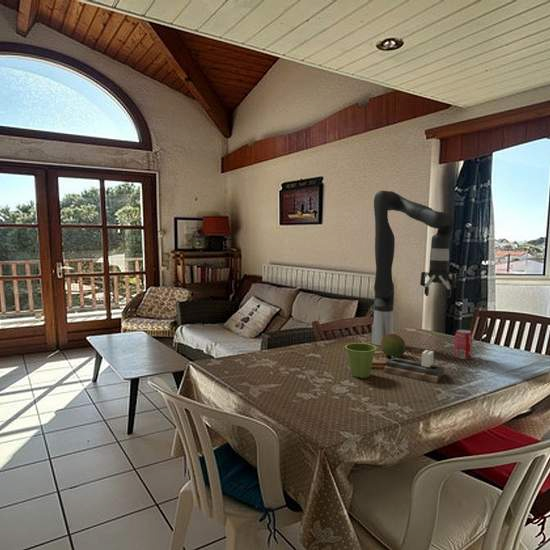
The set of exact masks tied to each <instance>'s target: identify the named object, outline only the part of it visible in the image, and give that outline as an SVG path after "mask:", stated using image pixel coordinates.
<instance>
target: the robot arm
mask: <svg viewBox="0 0 550 550" xmlns="http://www.w3.org/2000/svg"><path fill="white" fill-rule="evenodd" d="M373 210H374V223H375V224H374V225H375V226H374V227H375V229H374V230H375V231H374V232H375V236H374V256H375V257H374V259H375V276H374V284H373V290H374V300H373V301H374V302H373V324H372V325H371V345H374V346H379V347H380V343H381V340H382V338H383V337H384V336H385V335H387V334H394V333H393V326H394V304H395V301H394V300H395V284H394V282H393V273H392V271H393V270H392V269H393V263H394V258H395V257H394V256H395V243H396V242H395V238H396V237H395V235H394V232H393V229H392V227H391V226H390V222H389V218H388V217H389V215H388V212H389V211H396V212H401V213H402V214H403V213H404V214H406V216H408V217H409V218H410V219H413V220H415V221H418V222H420V223H423V224H424V225H427V226H428V227H429V228H433V229H437V231H436V234H434V235H432V237H431V243H430V245H431V246H430V252H429V269H428V271H427V272H426V271H421V274H420V281H419V283H420V286H422V287H424V289H423V290H424V292H423V293H424V295H425V296H426V297H428V296H430V287H429V286H430V285H431V284H432V283H435V284H437V283H438V284H443V285H444V286H445V288H446V293H445V294H446V295H445V298H446V299H449V298H451V297H452V289H455V288H457V274H456V273H449V268H450V267H449V265H450V264H449V263H450V237H451V236H452V233H453V230H454V229H453V228H454V224H455V220H454V219H455V218H454V216H453V214H452V213H450V212H447V211H445V212H444V211H437V210H433V208H432V207H430V206H427V205H424V204H422V203H418V202H416V201H415V202H414V201H412V200H409V199H407V198H405V197H404V196H402V195H401V194H398V193H397V192H395V191H391V190H379V191H377V192H376V194H375V195H374V197H373ZM427 276H428V277H429V279H428V281H426V278H427ZM448 278H450V280H451V283H450V282H449V280H448Z"/></svg>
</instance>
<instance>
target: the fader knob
mask: <svg viewBox="0 0 550 550" xmlns="http://www.w3.org/2000/svg"><path fill="white" fill-rule="evenodd" d="M434 355H435V353H434V350H430V349H424V351H423V352H421V366H424V367H427V368H431V365H432V364H433V365H434Z"/></svg>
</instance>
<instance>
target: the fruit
mask: <svg viewBox="0 0 550 550" xmlns="http://www.w3.org/2000/svg"><path fill="white" fill-rule="evenodd" d="M379 347H380V349H381V350H380V351H382V353H383V354H384V355H385V356H387V355H389V356H393V357H398V358H401V357H402V356H403V355H404V354H405V352H406V349H407V348H406V343H405V340H404V338H403V337H401V336H400V335H398V334H396V333H392V334H387V335H385V336H384V337H383V338H382V340H381V343H380V346H379ZM389 356H388V357H389Z"/></svg>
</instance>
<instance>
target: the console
mask: <svg viewBox="0 0 550 550" xmlns="http://www.w3.org/2000/svg"><path fill="white" fill-rule="evenodd" d="M383 373H387V374H391V375H396V376H401V377H406V378H409V379H415V380H420V381H425V382H430V383H432V384H433V383H435V384H437V383H438V382H439V381H440V380H441V379H442V377H443V376H445V374H446V369H445V367H444V366H443V365H437V364H434V363H433V364H432V365H431V368H427V367H424V366H421V362H420V361H416V360H411V359H410V360H409V359H406V358H401V357H398V358H396V357H390V358H389V359H387V361H385V366H383Z"/></svg>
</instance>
